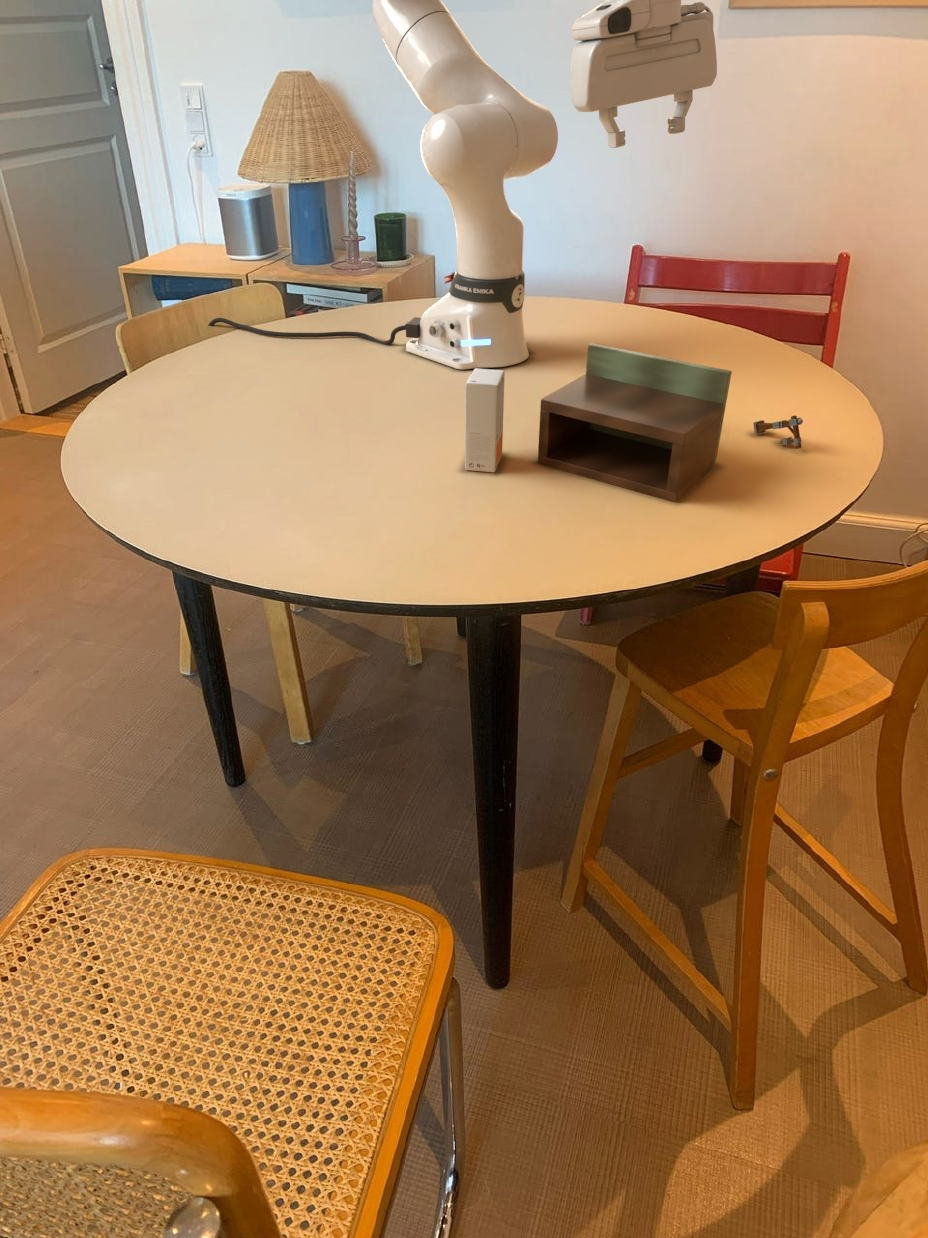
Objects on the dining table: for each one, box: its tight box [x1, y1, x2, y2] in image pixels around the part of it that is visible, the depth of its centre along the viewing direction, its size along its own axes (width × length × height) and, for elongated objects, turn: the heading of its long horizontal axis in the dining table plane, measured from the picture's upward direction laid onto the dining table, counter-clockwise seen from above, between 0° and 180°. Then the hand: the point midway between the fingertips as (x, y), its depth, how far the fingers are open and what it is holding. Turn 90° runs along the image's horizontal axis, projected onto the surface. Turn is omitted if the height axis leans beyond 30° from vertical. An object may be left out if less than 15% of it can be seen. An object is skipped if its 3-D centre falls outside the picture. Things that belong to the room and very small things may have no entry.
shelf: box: [537, 342, 733, 503], centre depth 113 cm, size 20×13×13 cm, turn 55°
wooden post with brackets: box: [752, 415, 804, 450], centre depth 122 cm, size 2×8×4 cm, turn 29°
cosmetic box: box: [464, 368, 506, 473], centre depth 114 cm, size 6×4×12 cm
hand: (647, 139), depth 113 cm, fingers open, 8 cm apart
